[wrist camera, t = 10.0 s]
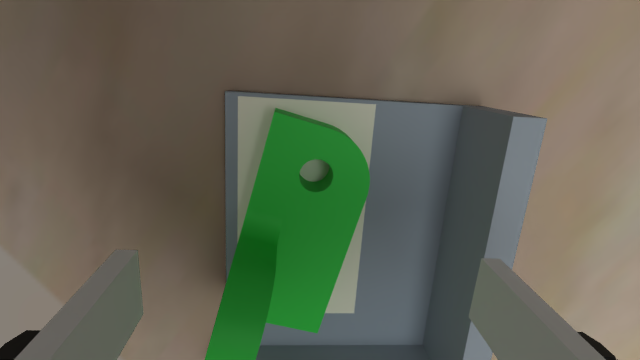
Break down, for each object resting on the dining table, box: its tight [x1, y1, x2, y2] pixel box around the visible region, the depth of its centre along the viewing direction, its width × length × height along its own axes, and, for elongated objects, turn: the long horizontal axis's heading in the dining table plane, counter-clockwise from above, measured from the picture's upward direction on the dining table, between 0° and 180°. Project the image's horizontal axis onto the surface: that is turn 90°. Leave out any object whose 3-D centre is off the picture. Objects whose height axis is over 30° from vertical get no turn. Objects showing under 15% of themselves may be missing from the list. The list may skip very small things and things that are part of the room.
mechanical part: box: [205, 108, 370, 360], centre depth 19 cm, size 12×6×8 cm, turn 163°
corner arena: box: [225, 91, 547, 360], centre depth 21 cm, size 18×15×6 cm
